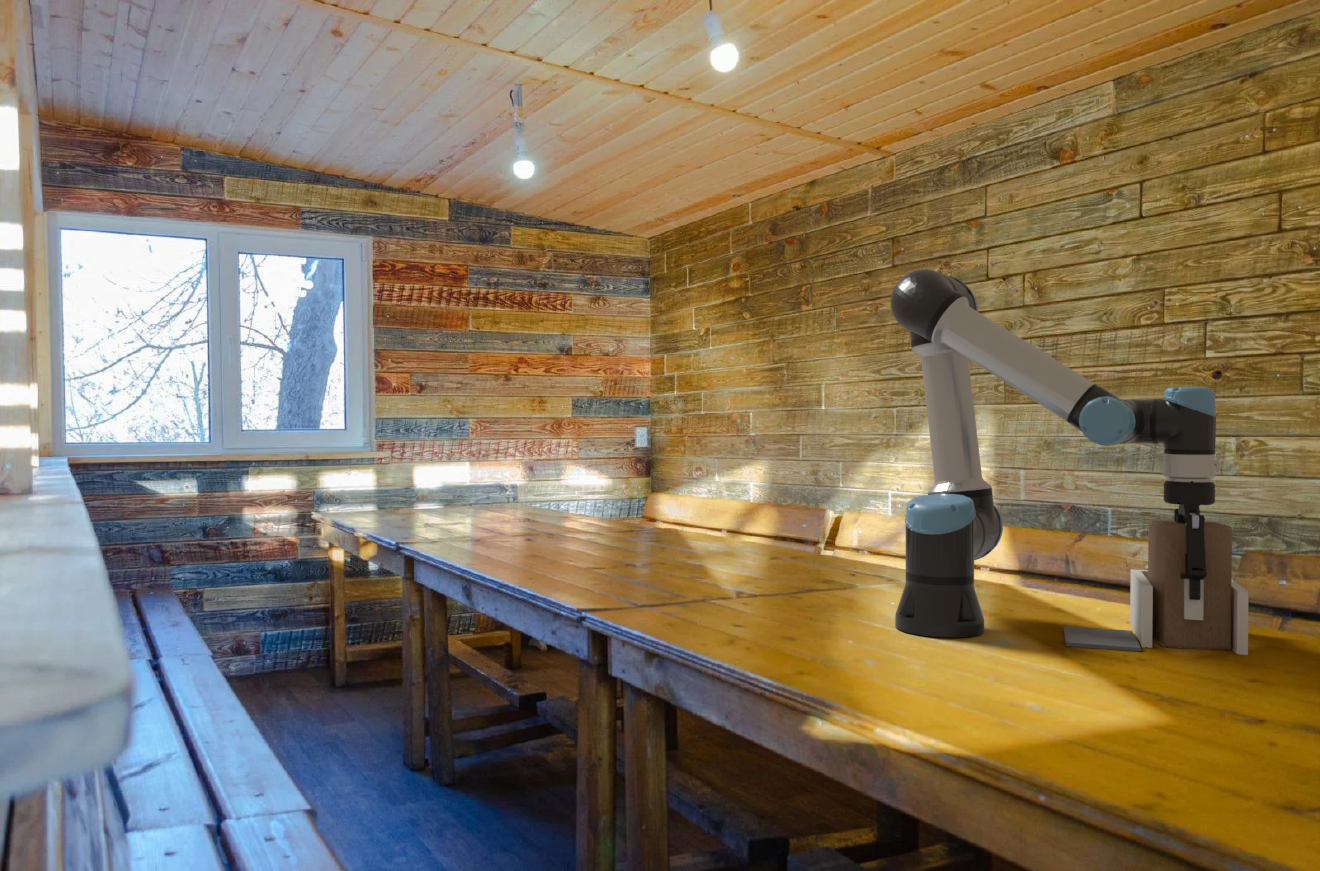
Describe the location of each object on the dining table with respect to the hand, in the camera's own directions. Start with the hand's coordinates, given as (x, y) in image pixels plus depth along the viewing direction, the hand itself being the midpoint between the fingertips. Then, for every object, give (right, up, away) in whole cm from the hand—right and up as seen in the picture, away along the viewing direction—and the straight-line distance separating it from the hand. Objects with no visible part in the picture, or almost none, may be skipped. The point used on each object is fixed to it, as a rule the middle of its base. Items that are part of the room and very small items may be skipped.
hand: (1188, 613), depth 163 cm
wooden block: (0, -5, 0) cm, 5 cm away
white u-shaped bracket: (+1, -5, +2) cm, 5 cm away
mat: (-14, -5, +2) cm, 15 cm away
